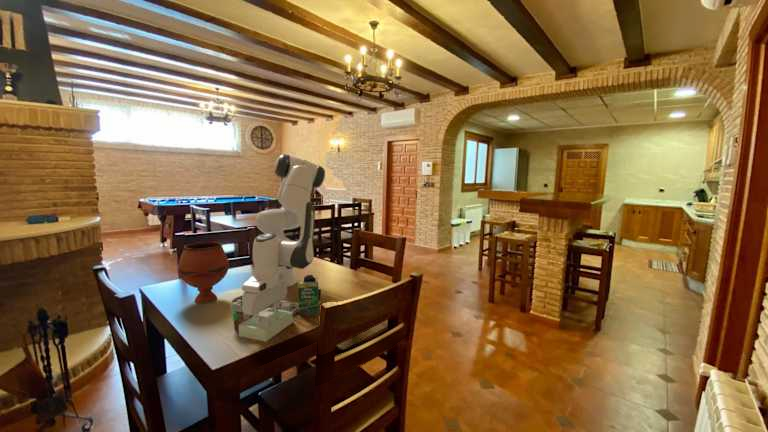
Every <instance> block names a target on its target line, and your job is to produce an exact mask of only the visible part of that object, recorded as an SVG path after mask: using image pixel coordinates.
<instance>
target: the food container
mask: <svg viewBox="0 0 768 432" xmlns="http://www.w3.org/2000/svg"><path fill="white" fill-rule="evenodd" d="M242 296H243V294H242V295H238V296H236V297H234V298H233V299H232V300H231V302H230V306H229V309H230V310H231V311H232V318H233V320H232V321H233V328H234V330H235V331H237V332H239V325H240V324H241V323H243V322H245V321H246V320H248V319H250V318H252V317H253V315H247V314H244V312H243V310H242Z"/></svg>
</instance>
